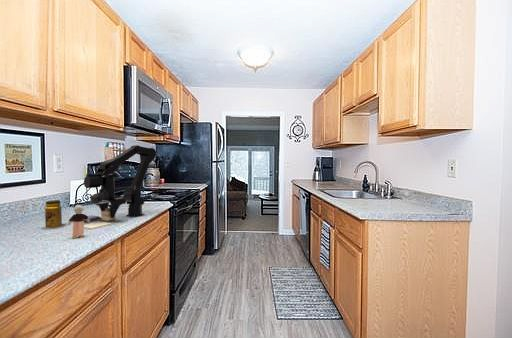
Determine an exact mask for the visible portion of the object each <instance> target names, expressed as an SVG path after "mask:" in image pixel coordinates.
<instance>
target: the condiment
mask: <svg viewBox="0 0 512 338" xmlns="http://www.w3.org/2000/svg"><path fill="white" fill-rule="evenodd" d="M62 216H63V215H62V205H61V200H59V199H55V200H53V199H51V200H47V201H45V208H44V220H45V222H44V223H45V224H44V225H45V227H42V230H45V229H58V228H59V229H60V228H62V227H65V226H67V223H68V222H67V223H63V222H62V221H63V219H62Z"/></svg>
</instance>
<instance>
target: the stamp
mask: <svg viewBox="0 0 512 338" xmlns="http://www.w3.org/2000/svg"><path fill="white" fill-rule="evenodd" d="M100 217H101V220H100V221H104V222H113V221H116V215H115V216H114V218H111V213H110V207H108V208H105V211H101V210H100Z"/></svg>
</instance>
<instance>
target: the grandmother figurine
mask: <svg viewBox="0 0 512 338" xmlns="http://www.w3.org/2000/svg"><path fill="white" fill-rule="evenodd" d="M83 211H84V206H82V205H80V204H77V205H75V206H74V208H73V212H74V214H73V215H72V216H71V217H70V218H69V219H68V222H67V224H66V226H70V225H71V224H73V225H72V237H71V239H77V238H84V237H85V234H84V233H85V229H84V224H85V223H84V221H83V219H85V220H87V223H91V222H90V220H89V218H88V216H89V215H86V214H85V213H83ZM72 221H74V222H72Z"/></svg>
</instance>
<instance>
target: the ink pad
mask: <svg viewBox="0 0 512 338" xmlns="http://www.w3.org/2000/svg"><path fill="white" fill-rule="evenodd" d="M87 216H88V218H89V220H90V222H89V223H91V222H96V221H101V215H100V216H99V215H87ZM83 221H84V224H87V223H88V222H87V220H85V219H83ZM71 223H74V221H72V222H71Z"/></svg>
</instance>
